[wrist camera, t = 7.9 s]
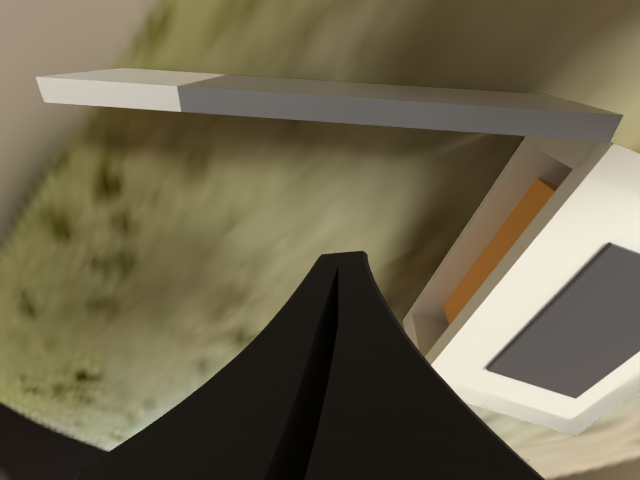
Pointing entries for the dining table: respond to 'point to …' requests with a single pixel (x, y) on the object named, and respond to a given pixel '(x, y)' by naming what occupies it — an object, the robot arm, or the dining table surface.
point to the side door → (334, 102)
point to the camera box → (543, 289)
